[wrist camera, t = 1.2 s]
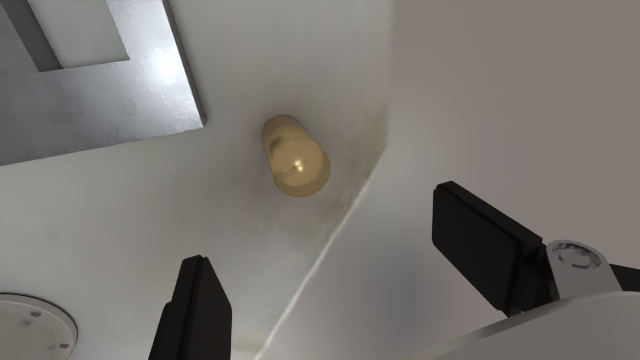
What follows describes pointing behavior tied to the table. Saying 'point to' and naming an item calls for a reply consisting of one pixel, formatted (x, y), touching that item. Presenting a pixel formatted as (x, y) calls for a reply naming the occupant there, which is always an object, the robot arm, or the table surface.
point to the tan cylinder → (294, 157)
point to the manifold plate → (93, 86)
